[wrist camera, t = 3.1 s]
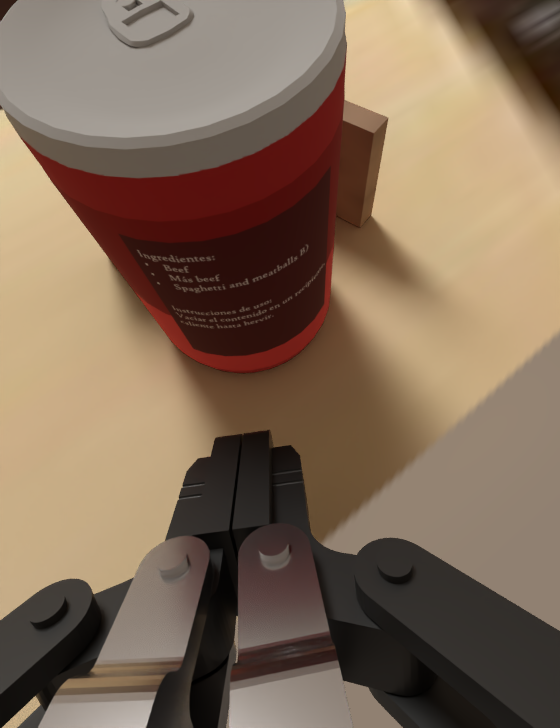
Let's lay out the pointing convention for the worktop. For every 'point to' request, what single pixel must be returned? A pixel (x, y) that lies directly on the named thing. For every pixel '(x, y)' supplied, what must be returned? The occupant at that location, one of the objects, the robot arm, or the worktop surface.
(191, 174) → the canned food
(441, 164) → the worktop surface
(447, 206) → the worktop surface
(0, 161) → the worktop surface
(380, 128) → the v-block stop
